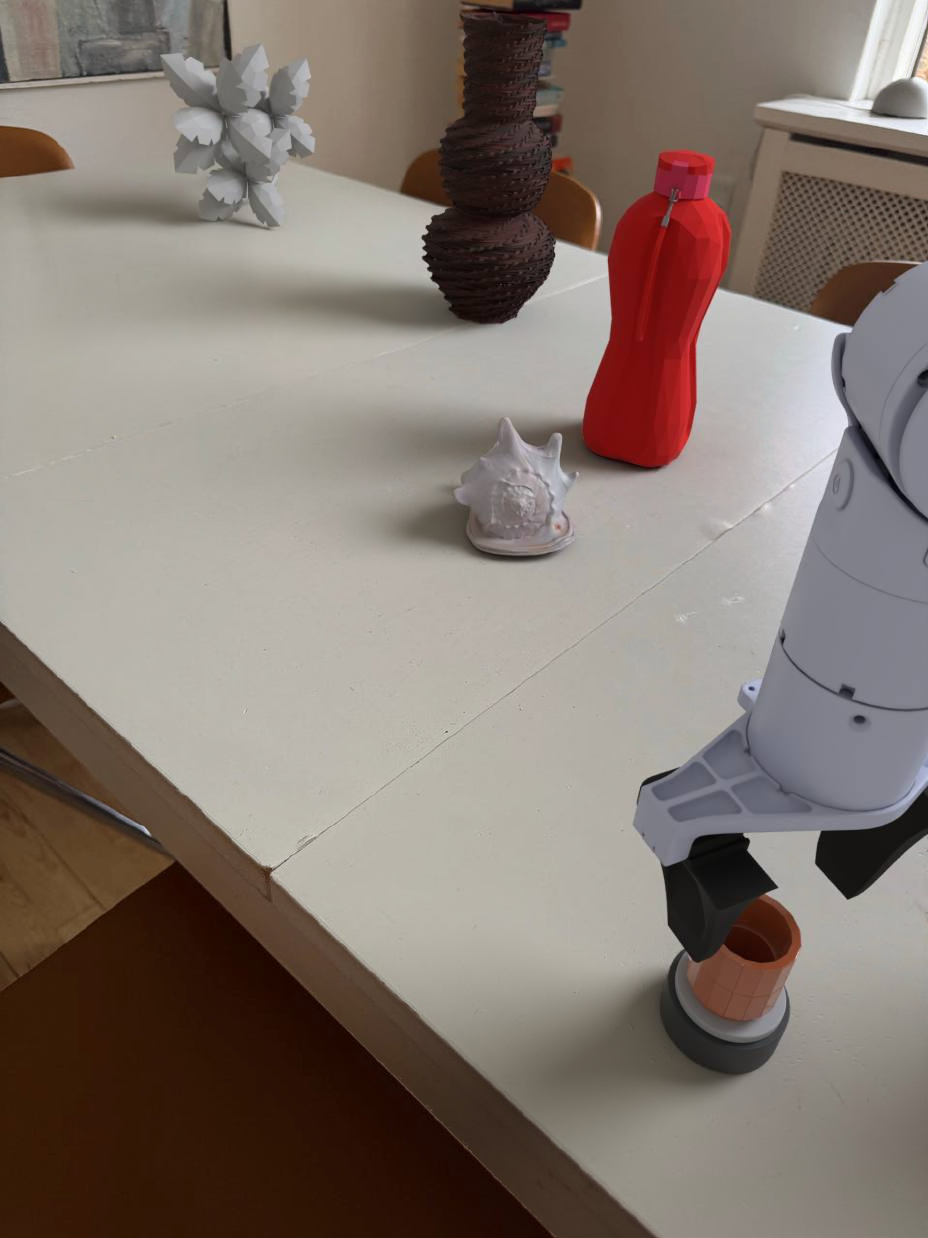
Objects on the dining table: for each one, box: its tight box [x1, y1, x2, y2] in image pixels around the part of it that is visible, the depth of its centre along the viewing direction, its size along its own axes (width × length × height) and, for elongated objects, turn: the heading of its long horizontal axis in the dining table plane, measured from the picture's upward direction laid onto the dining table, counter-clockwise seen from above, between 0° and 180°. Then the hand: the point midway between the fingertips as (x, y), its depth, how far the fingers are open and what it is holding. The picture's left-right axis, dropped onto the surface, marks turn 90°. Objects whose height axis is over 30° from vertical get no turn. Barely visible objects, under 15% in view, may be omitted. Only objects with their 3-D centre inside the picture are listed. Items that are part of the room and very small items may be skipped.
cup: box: [686, 893, 803, 1021], centre depth 41 cm, size 4×4×4 cm
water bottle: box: [581, 149, 732, 469], centre depth 81 cm, size 9×11×25 cm
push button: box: [659, 948, 791, 1075], centre depth 43 cm, size 5×5×2 cm
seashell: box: [451, 416, 580, 556], centre depth 75 cm, size 10×12×9 cm
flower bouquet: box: [159, 42, 316, 228], centre depth 137 cm, size 17×34×21 cm, turn 160°
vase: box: [420, 11, 557, 324], centre depth 106 cm, size 15×15×30 cm
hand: (765, 908), depth 39 cm, fingers open, 7 cm apart
